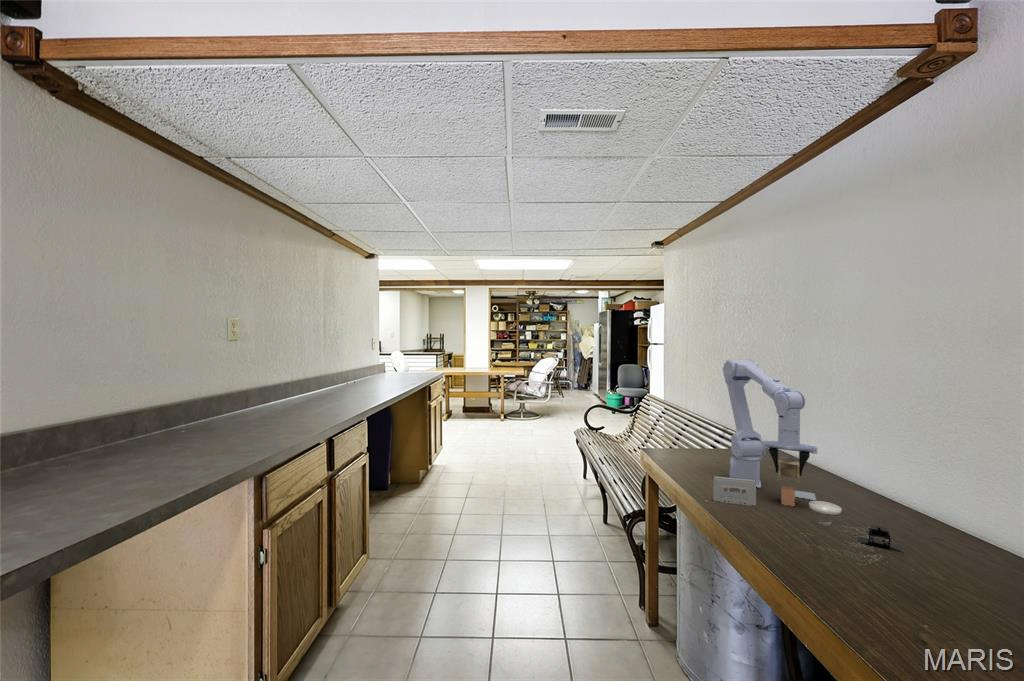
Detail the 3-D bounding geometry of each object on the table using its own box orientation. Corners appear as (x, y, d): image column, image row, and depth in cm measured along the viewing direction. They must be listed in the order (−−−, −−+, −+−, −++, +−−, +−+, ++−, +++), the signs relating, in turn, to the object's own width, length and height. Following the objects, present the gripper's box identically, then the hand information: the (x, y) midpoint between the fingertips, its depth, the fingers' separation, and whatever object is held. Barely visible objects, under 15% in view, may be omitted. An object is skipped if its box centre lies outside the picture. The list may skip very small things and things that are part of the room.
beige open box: (778, 480, 136) (778, 460, 136) (778, 475, 142) (778, 456, 142) (799, 483, 134) (799, 463, 134) (798, 478, 139) (798, 458, 139)
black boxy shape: (848, 545, 112) (849, 527, 112) (846, 534, 118) (846, 517, 118) (914, 558, 105) (914, 539, 105) (907, 546, 111) (908, 528, 111)
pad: (790, 496, 144) (790, 496, 144) (789, 490, 150) (789, 489, 150) (816, 500, 140) (816, 500, 140) (814, 493, 146) (814, 493, 146)
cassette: (713, 501, 139) (713, 477, 139) (713, 499, 141) (713, 475, 141) (756, 506, 135) (756, 481, 135) (755, 504, 137) (755, 480, 137)
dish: (810, 511, 132) (810, 507, 132) (807, 502, 139) (807, 498, 138) (843, 517, 128) (843, 512, 128) (839, 507, 135) (839, 503, 134)
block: (781, 504, 137) (781, 488, 137) (781, 501, 140) (781, 485, 140) (794, 506, 135) (794, 490, 135) (793, 503, 138) (794, 487, 138)
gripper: (762, 429, 138) (761, 473, 138) (818, 435, 131) (817, 480, 131) (762, 425, 144) (761, 467, 144) (816, 430, 137) (815, 474, 137)
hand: (788, 473), depth 138 cm, fingers closed on beige open box, 5 cm apart
